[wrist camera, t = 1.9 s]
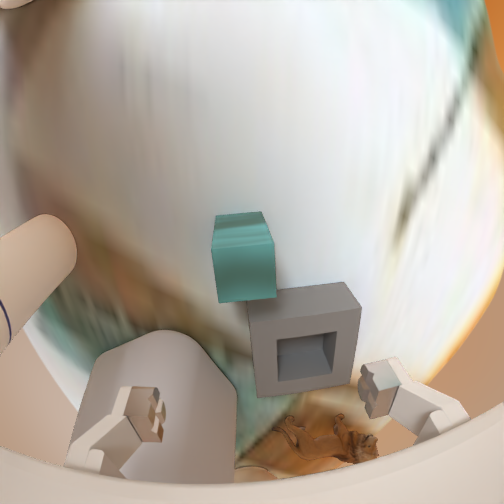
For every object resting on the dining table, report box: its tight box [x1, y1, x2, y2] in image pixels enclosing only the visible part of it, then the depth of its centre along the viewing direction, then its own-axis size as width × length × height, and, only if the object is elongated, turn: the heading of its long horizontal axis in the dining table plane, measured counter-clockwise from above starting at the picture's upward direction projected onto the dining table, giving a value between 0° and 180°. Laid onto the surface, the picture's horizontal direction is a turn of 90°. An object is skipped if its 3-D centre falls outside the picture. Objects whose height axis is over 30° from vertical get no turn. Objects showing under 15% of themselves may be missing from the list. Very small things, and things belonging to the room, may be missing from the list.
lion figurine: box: [272, 414, 379, 464], centre depth 35 cm, size 15×5×9 cm, turn 88°
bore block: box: [247, 282, 362, 398], centre depth 29 cm, size 10×10×5 cm
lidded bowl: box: [234, 466, 278, 483], centre depth 40 cm, size 13×13×11 cm
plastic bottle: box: [66, 330, 237, 484], centre depth 21 cm, size 15×15×28 cm
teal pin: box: [211, 212, 277, 303], centre depth 24 cm, size 4×4×8 cm
